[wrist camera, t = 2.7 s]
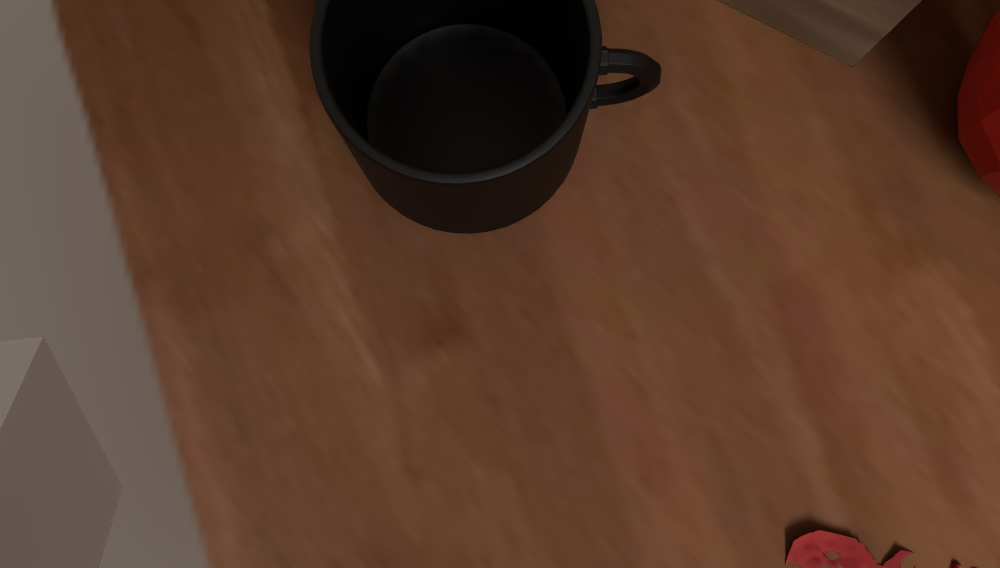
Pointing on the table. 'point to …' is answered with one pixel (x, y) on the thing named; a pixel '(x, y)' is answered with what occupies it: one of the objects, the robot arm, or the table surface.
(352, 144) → the mug
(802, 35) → the grey square box
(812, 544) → the plate with food
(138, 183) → the table surface
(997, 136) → the apple
